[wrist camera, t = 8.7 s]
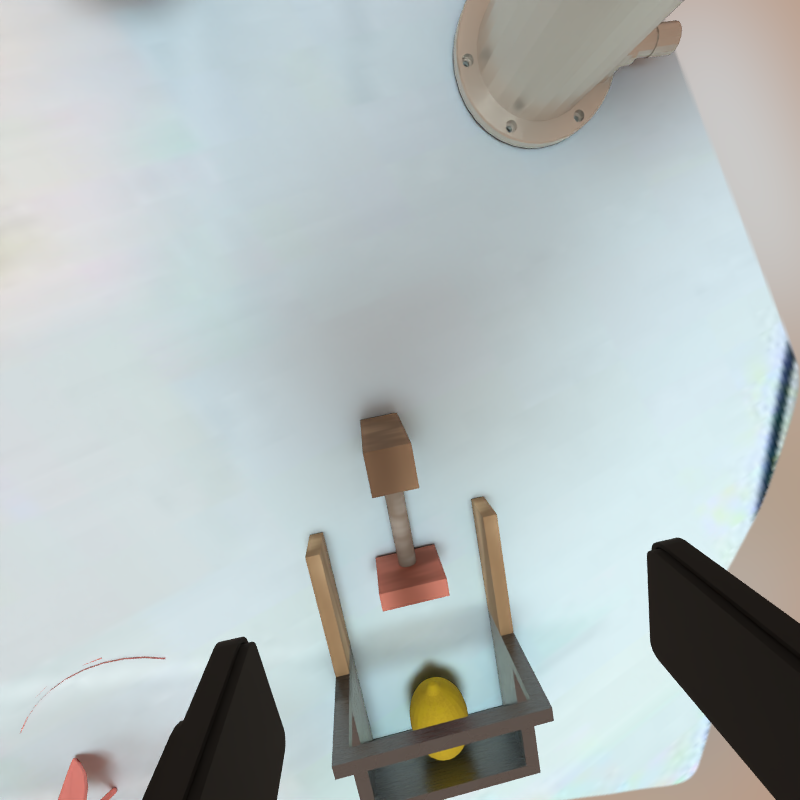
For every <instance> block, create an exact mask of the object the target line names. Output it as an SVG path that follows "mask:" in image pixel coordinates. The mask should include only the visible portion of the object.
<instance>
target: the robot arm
mask: <svg viewBox="0 0 800 800" xmlns="http://www.w3.org/2000/svg"><path fill="white" fill-rule="evenodd" d="M683 1H684V0H466V2H465V5H464V7H463V10H462V13H461V15H460V18H459V21H458V26H457V30H456V34H455V39H454V53H453V57H454V68H455V76H456V80H457V83H458V87H459V91H460V93H461V95H462V98H463V100H464V102H465V104H466V107H467V108H468V109H469V111H470V112H471V114H472V115H473V117H474V118H475V120H476V121H477V122H478V123H479V124H480V125H481V126H482V127H483V128H484V129H485V130H486V131H487V132H488V133H490V134H491V135H493V136H494V137H496V138H497V139H499V140H501V141H503V142H506V143H508V144H511V145H513V146H518V147H524V148H542V147H546V146H550V145H553V144H557V143H559V142H561V141H562V140H564V139H566V138H568V137H570V136H571V135H572V134H574V133H575V132H576V131H578V130H579V129H580V128H581V127H582V126H584V125H585V124H586V123H587V122H588V121H589V120H590V119H591V118H592V117H593V115H594V114H595V113H596V111H597V110H598V109H599V107H600V106H601V104H602V103H603V101H604V99H605V97H606V95H607V93H608V90H609V88H610V85H611V82H612V79H613V75H614V72H615V71H617V70H618V69H619V68H620V67H624V66H628V65H630V64H632V63H633V61H634V60H635V59H636V58H641V57H644V58H651V57H658V56H665V55H670V54H671V53H672V52H674V51H675V49H676V47H677V46H678V44H679V41H680V38H681V31H682V27H681V24H680V22H679V21H668V22H662V21H663V20H664V19H665V18H666V17H667V16H668V15H670V14H671V13H672V12H673V11H674V10H675V9H676V8H677V7H678V6H679V5H680V4H681V3H682V2H683ZM463 64H464V65H466V66H467V67H465V66H464V65H463ZM574 119H575V120H574ZM506 128H508V129H509V131H510V132H508V131H507V129H506ZM647 570H648V596H649V622H650V642H651V647H652V649H653V652H654V654H655V655H656V657H657V658H658V660H659V661H660V662H661V664H662V665H663V666H664V667H665V668H666V669H667V671H668V672H669V673H670V674H671V675H672V677H673V678H674V679H675V680H676V681H677V683H678V684H679V685H680V686H681V687H682V688H683V690H684V691H685V692H686V693H687V694H688V696H689V697H690V698H691V699H692V700H693V702H694V703H695V704H696V705H697V706H698V708H699V709H700V710H701V711H702V712H703V713H704V715H705V716H706V717H707V718H708V719H709V721H710V722H711V723H712V724H713V725H714V727H715V728H716V729H717V730H718V731H719V732H720V734H721V735H722V736H723V737H724V738H725V740H726V741H727V742H728V743H729V744H730V745H731V746H732V748H733V749H734V750H735V751H736V753H737V754H738V755H739V756H740V757H741V759H742V760H743V761H744V762H745V763H746V764H747V766H748V767H749V768H750V769H751V770H752V772H753V773H754V774H755V775H756V776H757V778H758V779H759V780H760V781H761V782H762V784H763V785H764V786H765V787H766V788H767V789H768V791H769V792H770V793H771V794H772V795H773V797H774V798H775V799H776V800H800V623H798V622H797V621H795V620H794V619H793V618H791V617H790V616H789V615H787V614H786V613H784V612H783V611H782V610H780V609H779V608H778V607H776V606H775V605H773V604H772V603H771V602H769V601H767V599H765V598H764V597H762V596H761V595H760V594H758V593H757V592H755V591H754V590H753V589H751V588H750V587H749V586H747V585H746V584H744V583H743V582H742V581H740V580H739V579H738V578H736V577H735V576H733V575H732V574H730V573H729V572H728V571H727V570H725V569H724V568H722V567H721V566H720V565H718V564H717V563H715V562H714V561H713V560H711V559H710V558H709V557H707V556H706V555H704V554H703V553H702V552H700V551H699V550H698V549H696V548H695V547H693V546H692V545H691V544H689V543H688V542H687V541H685V540H683V539H681V538H673V539H669V540H665V541H660V542H656V543H654V544H653V545H652V550H651V551H648V553H647ZM284 753H285V732H284V728H283V725H282V722H281V719H280V716H279V713H278V710H277V707H276V704H275V701H274V698H273V695H272V692H271V689H270V686H269V683H268V680H267V677H266V674H265V670H264V667H263V664H262V661H261V658H260V655H259V652H258V649H257V646H256V644H255V643H254V642H249V643H248V641H247V639H246V638H245V637H239V638H235V639H231V640H226V641H222V642H218V643H217V644H216V646H215V647H214V649H213V652H212V654H211V657H210V659H209V661H208V664H207V666H206V668H205V671H204V673H203V676H202V678H201V680H200V683H199V685H198V687H197V690H196V692H195V694H194V697H193V699H192V702H191V704H190V706H189V709H188V711H187V713H186V716H185V718H184V720H183V721H180V722H179V723H178V724H177V725H176V726H175V728H174V730H173V731H172V733H171V735H170V737H169V739H168V742H167V744H166V746H165V749H164V751H163V753H162V755H161V758H160V760H159V762H158V765H157V767H156V769H155V771H154V774H153V776H152V778H151V781H150V783H149V785H148V787H147V790H146V792H145V794H144V797H143V799H142V800H277V795H278V789H279V783H280V777H281V771H282V765H283V759H284Z"/></svg>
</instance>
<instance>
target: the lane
mask: <svg viewBox="0 0 800 800" xmlns="http://www.w3.org/2000/svg"><path fill="white" fill-rule="evenodd" d="M471 502H472V508H473V514H474V521H475V527H476V534H477V540H478V547H479V553H480V560H481V566H482V573H483V579H484V586H485V592H486V599H487V605H488V610H489V612H490V614H491V616H492V618H493V620H494V622H495V625H496V627H497V629H498V631H499V633H500V635H501V636H503V635H507V634H511V633H513V626H512V619H511V612H510V605H509V598H508V591H507V584H506V577H505V569H504V562H503V555H502V548H501V541H500V534H499V527H498V520H497V514H496V513H495V511H494V510H493V509H492V507H491V506H490V505H489V503H488V502H487V501H486V499H485V498H484V496H483V497H479V498H474V499H471ZM305 558H306V562H307V566H308V570H309V574H310V578H311V582H312V586H313V590H314V594H315V597H316V601H317V605H318V609H319V613H320V617H321V621H322V625H323V629H324V633H325V636H326V640H327V644H328V648H329V652H330V656H331V660H332V664H333V668H334V672H335V675H336V677H339V676H343V675H347V674H349V658H350V642H349V638H348V634H347V630H346V626H345V621H344V617H343V613H342V609H341V605H340V601H339V597H338V593H337V588H336V584H335V580H334V576H333V572H332V568H331V564H330V560H329V555H328V551H327V547H326V543H325V539H324V535H323V532H322V533H317V534H313V535H310V537H309V542H308V547H307V552H306V557H305Z"/></svg>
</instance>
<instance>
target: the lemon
mask: <svg viewBox="0 0 800 800" xmlns="http://www.w3.org/2000/svg"><path fill="white" fill-rule="evenodd" d="M467 716H468V712H467V707H466V704H465V701H464V699H463V696H462V694H461V692H460V691H459V690H458V688H457V687H456V686H455V685H454V684H453V683H452V682H450V681H449V680H447V679H444V678H442V677H431V678H428V679H426V680H424V681H423V682H422V683H421V684H419V686H418V687H417V688H416V690H415V691H414V694H413V696H412V699H411V705H410V719H411V726H412V730H413V731H414V730H418V729H421V728H425V727H429V726H433V725H437V724H440V723H444V722H448V721H452V720H455V719H459V718H463V717H467ZM463 747H464V745H462V746H458V747H455V748H451V749H447V750H443V751H440V752H436V753H432V754H429V756H430V757H432V758H434V759H437V760H443V761H445V760H450V759H452V758H454V757H456V756H457V755H458V754H459V753H460V752H461V750H462V749H463Z"/></svg>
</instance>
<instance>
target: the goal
mask: <svg viewBox="0 0 800 800" xmlns="http://www.w3.org/2000/svg"><path fill="white" fill-rule="evenodd" d="M488 612H489V610H488ZM489 618H490V624H491V631H492V637H493V644H494V650H495V657H496V663H497V670H498V676H499V683H500V689H501V696H502V702H503V706H499V707H496V708H492V709H488V710H484V711H480V712H477V713H473V714H469V715H468V716H467V717H463V718H459V719H455V720H452V721H448V722H444V723H440V724H437V725H433V726H429V727H425V728H421V729H418V730H414V731H413V730H408V731H405V732H401V733H397V734H393V735H390V736H386V737H382V738H378V739H374V740H373V737H372V733H371V729H370V725H369V720H368V716H367V712H366V708H365V704H364V700H363V696H362V692H361V687H360V683H359V679H358V675H357V671H356V667H355V663H354V659H353V654H352V650H351V646H350V658H349V674H347V675H343V676H339V677H336V687H335V709H334V730H333V752H332V769H333V773H334V776H335V780H336V779H340V778H343V777H347V776H351V775H354V777H355V781H356V785H357V789H358V793H359V797H360V800H444V799H447V798H451V797H454V796H458V795H462V794H465V793H469V792H472V791H476V790H479V789H483V788H487V787H490V786H494V785H497V784H501V783H505V782H508V781H512V780H515V779H519V778H522V777H526V776H530V775H533V774H537V773H540V766H539V758H538V751H537V744H536V736H535V729H534V726H536V725H540V724H544V723H547V722H551V721H554V719H553V711H552V707H551V705H550V703H549V701H548V699H547V697H546V695H545V693H544V691H543V689H542V687H541V685H540V683H539V681H538V679H537V678H536V676H535V674H534V672H533V670H532V668H531V666H530V664H529V662H528V660H527V658H526V656H525V654H524V652H523V650H522V648H521V646H520V645H519V643H518V641H517V639H516V637H515V635H514V633H511V634H507V635H503V636H501V635H500V633H499V631H498V629H497V627H496V625H495V622H494V620H493V618H492V616H491V614H490V612H489ZM462 745H464V747H463V749H462V750H461V752H460V753H459V754H458V755H457V756H456V757H454V758H452V759H450V760H445V761H443V760H437V759H434V758H432V757H430V756H429V754H432V753H436V752H440V751H443V750H447V749H451V748H455V747H458V746H462Z"/></svg>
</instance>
